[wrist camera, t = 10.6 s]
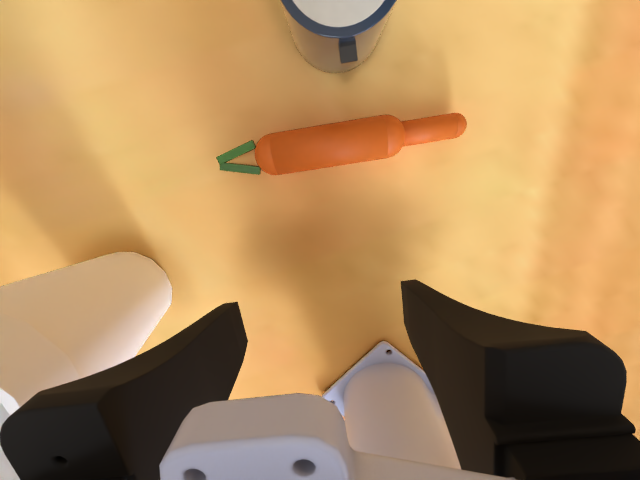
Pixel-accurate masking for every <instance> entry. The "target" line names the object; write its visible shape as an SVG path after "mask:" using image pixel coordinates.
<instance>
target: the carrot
mask: <svg viewBox="0 0 640 480" xmlns="http://www.w3.org/2000/svg"><path fill="white" fill-rule="evenodd" d="M466 125H467V122H466V119H465V117H464V116H463V115H461V114H459V113H451V114H445V115H439V116H433V117H427V118H421V119H415V120H408V121H402V122H400V121H399V120H398V119H397V118H396V117H394V116H391V115H380V116H374V117H368V118H361V119H355V120H349V121H343V122H337V123H331V124H325V125H319V126H313V127H307V128H301V129H295V130H289V131H283V132H277V133H271V134H268V135H265V136H264V137H262V138H261V139H260V140H259V142H258V143H257V145H256V146H255V144H254V141H253V140H251V141H249V142H247V143H245V144H243V145H241V146H239V147H237V148H234V149H232V150H230V151H228V152H226V153H224V154H222V155H220V156H218V157H216V158H217V160H218V162H219V164H220V170H224V171H232V172H241V173H250V174H258V175H259V174H260V171H261V169H262V170H263V171H265V172H266V173H268V174H271V175H281V174H288V173H294V172H300V171H307V170H313V169H320V168H326V167H333V166H339V165H345V164H352V163H358V162H365V161H371V160H377V159H384V158H389V157H391V156H393V155H395V154H396V153H398V152H399V151H400V149H401V148H402V146H408V145H415V144H421V143H427V142H434V141H440V140H446V139H453V138H457V137H459V136H460V135H462V134H463V132H464V131H465V129H466ZM253 149H255V159H256V162H257V164H258V165H259V166H252V165H243V164H234V163H225V162H227V161H230V160H232V159H234V158H236V157H238V156H240V155H242V154H244V153H246V152H248V151H251V150H253Z"/></svg>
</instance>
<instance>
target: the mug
mask: <svg viewBox="0 0 640 480" xmlns="http://www.w3.org/2000/svg"><path fill="white" fill-rule="evenodd" d="M396 1H397V0H280V2H281V5H282V8H283V11H284V14H285V17H286V20H287V23H288V26H289V29H290V32H291V35H292V38H293V41H294V44H295V46H296V48H297V50H298V51H299V53H300V55H301V56H302V57H303V58H304V59H305V60H306V61H307V62H308V63H309V64H310V65H312V66H313V67H315V68H317V69H319V70H321V71H324V72H329V73H342V72H346V71H349V70H351V69H354V68H355V67H357V66H359V65H360V64H361V63H363V62H364V61H365V60H366V59H367V58H368V57H369V55H370V54H371V53H372V51H373V50H374V48H375V46H376V44H377V42H378V40H379V38H380V35H381V33H382V31H383V29H384V27H385V25H386V23H387V20H388V18H389V16H390V14H391V12H392V10H393V7H394V5H395V3H396Z"/></svg>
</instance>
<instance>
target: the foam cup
mask: <svg viewBox="0 0 640 480" xmlns="http://www.w3.org/2000/svg"><path fill="white" fill-rule="evenodd" d="M171 300H172V286H171V284H170V282H169V279H168V277H167V275H166V272H165V271H164V270H162V269H161V268H160V267H159V266H158V265H157V264H156V263H155V262H154V261H153V260H152V259H150V258H148V257H145V256H143V255H140V254H138V253H136V252H115V253H113V254H107V255H104V256H101V257H97V258H94V259H91V260H87V261H84V262H80V263H77V264H74V265H70V266H67V267H64V268H60V269H57V270H54V271H50V272H47V273H44V274H40V275H37V276H33V277H30V278H27V279H23V280H20V281H17V282H13V283H10V284H7V285H3V286H0V430H1V427H2V424H3V423H4V422H5V421H6V419H7V418H8V417H9V416H10V415H12V414H13V413H14V412H15V411H16V410H17V409H19V408H20V407H21V406H22V405H23V404H25V403H26V402H27V401H28V400H29V399H30V398H32V397H33V396H34V395H35V394H37V393H38V392H40V391H42V390H45V389H49V388H52V387H55V386H59V385H62V384H65V383H68V382H72V381H75V380H78V379H81V378H84V377H87V376H90V375H92V374H95V373H98V372H101V371H103V370H106V369H108V368H111V367H113V366H116V365H118V364H120V363H122V362H125V361H127V360H129V359H131V358H133V357H135V356H136V354H137V353H138V351H139V350H140V348H141V347H142V346H143V344H144V343H145V341H146V340H147V338H148V337H149V335H150V334H151V333H152V331H153V330H154V328H155V327H156V325H157V324H158V322H159V321H160V320H161V318H162V317H163V315H164V314H165V312H166V311H167V309H168V308H169V306H170V305H171ZM0 480H20V478H19V477H18V475H17V474H16V472H15V470H14V469H13V467H12V466H11V464H10V462H9V461H8V459H7V457H6V456H5V454H4V452H3V450H2V447H1V445H0Z"/></svg>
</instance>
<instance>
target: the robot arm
mask: <svg viewBox="0 0 640 480" xmlns="http://www.w3.org/2000/svg"><path fill="white" fill-rule="evenodd" d="M401 289H402V301H403V314H404V324H405V327H406V330H407V333H408V336H409V339H410V342H411V345H412V347H413V349H414V351H415V353H416V355H417V357H418V359H419V361H420V363H421V365H422V367H423V370H422V369H421V368H420V367H418V366H417V365H416V364H415V363H413V362H412V361H411V360H410V359H408V358H407V357H406V356H405V355H403V354H402V353H401V352H400V351H398V350H397V349H396V348H394V347H393V346H392V345H391V344H389V343H388V342H386V341H382V342H380V343H379V344H377V345H376V346H375V347H374V348H373V349H372V350H371V351H370V352H369V353H367V354H366V355H365V356H364V357H363V358H362V359H361V360H360V361H359V362H358V363H356V364H355V365H354V366H353V367H352V368H351V369H350V370H349V371H348V372H347V373H345V374H344V375H343V376H342V377H341V378H340V379H339V380H338V381H337V382H336V383H334V384H333V385H332V386H331V387H330V388H329V389H328V390H327V391H326V392H325V393H323V395H322V397H321V396H319V395H311V394H302V393H295V394H285V395H275V396H265V397H255V398H245V399H235V400H228V398H229V396H230V393H231V391H232V388H233V386H234V383H235V381H236V378H237V376H238V373H239V371H240V368H241V366H242V363H243V360H244V356H245V352H246V347H247V343H248V340H247V336H246V332H245V329H244V325H243V321H242V317H241V313H240V309H239V306H238V302H233V303H225V304H222V305H220V306H219V307H217V308H215V309H214V310H212V311H211V312H209V313H208V314H206V315H205V316H203V317H202V318H200V319H199V320H198V321H196V322H195V323H193V324H192V325H190V326H189V327H187V328H186V329H184V330H182V331H181V332H179V333H178V334H176V335H174V336H173V337H171V338H170V339H168V340H166V341H165V342H163V343H161V344H159V345H158V346H156V347H154V348H152V349H150V350H148V351H146V352H144V353H142V354H140V355H138V356H136V357H133V358H131V359H129V360H127V361H125V362H122V363H120V364H118V365H116V366H113V367H111V368H108V369H106V370H103V371H101V372H98V373H95V374H92V375H90V376H87V377H84V378H81V379H78V380H75V381H72V382H68V383H65V384H62V385H59V386H55V387H52V388H49V389H45V390H42V391H40V392H38V393H37V394H35V395H34V396H33V397H32V398H30V399H29V400H28V401H27V402H26V403H25V404H23V405H22V406H21V407H20V408H19V409H17V410H16V411H15V412H14V413H13V414H12V415H10V416H9V417H8V418H7V419H6V421H5V422H4V423H3V424H2V427H1V430H0V445H1V447H2V450H3V452H4V454H5V456H6V457H7V459H8V461H9V462H10V464H11V466H12V467H13V469H14V470H15V472H16V474H17V475H18V477H19V478H20V480H640V441H639V440H638V439H637V438H636V437H635V436H634V435H633V434H632V433H635V430H636V429H635V427H634V425H633V424H632V423H631V422H630V421H629V420H628V419H627V418H626V417H625V416H623V415H622V414H621V410H622V404H623V399H624V393H625V387H626V369H625V366H624V363H623V361H622V359H621V358H620V357H619V356H618V355H617V354H616V353H615V352H614V351H613V350H611V349H610V348H609V347H607V346H606V345H604V344H603V343H602V342H600V341H599V340H597V339H596V338H595V337H593V336H592V335H591V334H589V333H588V332H586V331H580V330H570V329H561V328H552V327H545V326H540V325H534V324H528V323H523V322H519V321H514V320H510V319H506V318H503V317H499V316H495V315H492V314H489V313H486V312H483V311H480V310H477V309H474V308H472V307H469V306H467V305H464V304H462V303H460V302H458V301H455V300H453V299H451V298H449V297H447V296H445V295H443V294H441V293H440V292H438V291H436V290H434V289H432V288H430V287H429V286H427V285H425V284H423V283H421V282H420V281H418V280H408V281H401ZM387 350H391V351H390V352H386V351H387ZM331 400H333V401H331ZM342 416H344V419H343V417H342ZM344 420H345V421H344Z"/></svg>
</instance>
